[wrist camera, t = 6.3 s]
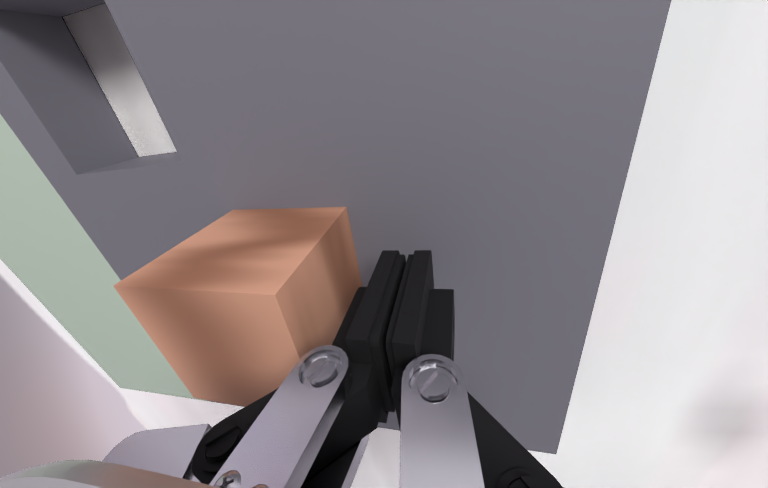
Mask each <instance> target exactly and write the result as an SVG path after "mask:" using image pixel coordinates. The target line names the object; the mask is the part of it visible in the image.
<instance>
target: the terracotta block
mask: <svg viewBox="0 0 768 488" xmlns="http://www.w3.org/2000/svg"><path fill="white" fill-rule="evenodd" d="M113 286H114V288H115V289H116V290H117V292H118V293H119V295H120V296H121V297H122V299H123V300H124V302H125V303H126V304H127V306H128V307H129V308H130V310H131V311H132V313H133V314H134V315H135V317H136V318H137V320H138V321H139V322H140V324H141V325H142V326H143V328H144V329H145V331H146V332H147V333H148V335H149V336H150V338H151V339H152V340H153V342H154V343H155V344H156V346H157V347H158V349H159V350H160V351H161V353H162V354H163V356H164V357H165V358H166V360H167V361H168V363H169V364H170V365H171V367H172V368H173V369H174V371H175V372H176V374H177V375H178V376H179V378H180V379H181V381H182V382H183V383H184V385H185V386H186V387H187V389H188V390H189V392H190V393H191V394H192V396H193V397H194V398H197V399H203V400H209V401H215V402H221V403H227V404H232V405H238V406H244V407H246V406H248V405H250V404H251V403H253V402H255V401H257V400H258V399H260V398H262V397H264V396H265V395H267V394H269V393H271V392H272V391H274V390H276V389H277V388H279V387H280V385H281V384H282V383H283V381H284V380H285V378H286V377H287V376H288V374H289V373H290V371H291V370H292V369H293V367H294V366H295V365H296V363H297V362H298V361H299V360H300V358H301V357H302V356H303V355H304V354H306V353H307V352H309V351H310V350H312V349H314V348H317V347H319V346H325V345H332V343H333V341H334V339H335V337H336V335H337V332H338V330H339V328H340V326H341V324H342V321H343V319H344V317H345V315H346V313H347V311H348V308H349V306H350V304H351V302H352V300H353V298H354V295H355V293H356V291H357V289H358V288H359V287H362V282H361V277H360V272H359V266H358V261H357V256H356V251H355V246H354V241H353V236H352V231H351V226H350V221H349V216H348V211H347V207H321V208H283V209H246V210H232V211H230V212H229V213H227V214H225V215H224V216H222V217H221V218H219V219H218V220H216V221H214V222H213V223H211V224H210V225H208V226H207V227H205V228H203V229H202V230H200V231H199V232H197V233H195V234H194V235H192V236H191V237H189V238H188V239H186V240H184V241H183V242H181V243H180V244H178V245H177V246H175V247H173V248H172V249H170V250H169V251H167V252H165V253H164V254H162V255H161V256H159V257H158V258H156V259H154V260H153V261H151V262H150V263H148V264H147V265H145V266H143V267H142V268H140V269H139V270H137V271H135V272H134V273H132V274H131V275H129V276H128V277H126V278H124V279H123V280H121V281H120V282H118V283H117V284H115V285H113Z"/></svg>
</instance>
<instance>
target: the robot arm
mask: <svg viewBox="0 0 768 488" xmlns="http://www.w3.org/2000/svg"><path fill="white" fill-rule="evenodd" d="M454 336H455V306H454V289H434V277H433V263H432V252H431V250H415V251H414V254H409V255H408V258H407V262H406V258H405V255H404V254H400V253H399V251H398V250H383V251H382V252H381V255H380V257H379V259H378V262H377V264H376V267H375V269H374V271H373V274H372V276H371V278H370V281H369V283H368V286H367V287H359V288H358V289H357V291H356V293H355V295H354V298H353V300H352V302H351V304H350V306H349V308H348V311H347V313H346V315H345V317H344V319H343V321H342V324H341V326H340V328H339V330H338V332H337V335H336V337H335V339H334V341H333V343H332V345H325V346H319V347H317V348H314V349H312V350H310V351H309V352H307V353H306V354H304V355H303V356H302V357H301V358H300V360H299V361H298V362H297V363H296V365H295V366H294V367H293V369H292V370H291V371H290V373H289V374H288V376H287V377H286V378H285V380H284V381H283V383H282V384H281V385H280V387H279V388H277V389H276V390H274V391H272V392H271V393H269V394H267V395H265V396H264V397H262V398H260V399H258V400H257V401H255V402H253V403H251V404H250V405H248V406H246V407H244V408H243V409H241V410H239V411H237V412H236V413H234V414H232V415H231V416H229V417H227V418H225V419H224V420H222V421H221V422H219V423H218V424H216V425H215V426H213V427H211V426H210V425H209V424H201V425H192V426H182V427H173V428H164V429H154V430H145V431H141V432H137V433H134V434H133V435H131V436H129V437H127V438H125V439H124V440H123V441H121V442H120V443H119V444H118V445H116V447H114V448H113V449H112V450H111V451H110V453H109V454H108V455H107V456H106V457H105V458H104V460H103V461H102V462H101V461H93V460H66V461H57V462H52V463H47V464H43V465H38V466H34V467H31V468H27V469H24V470H20V471H16V472H13V473H11V474H8V475H5V476H2V477H0V488H350V487H351V485H352V482H353V480H354V477H355V474H356V472H357V469H358V467H359V464H360V462H361V459H362V456H363V454H364V451H365V449H366V446H367V443H368V439H369V433H371V432H372V431H373V430H375V429H376V428H377V426H378V422H381V423H387V418H388V414H389V412H395V410H396V415H397V419H398V424H399V429H400V476H399V488H564V487H562V486H561V485H560V483H559V482H558V481H557V480H556V478H555V477H554V476H553V475H551V474H550V473H549V472H548V471H547V470H546V469H545V468H544V467H543V466H542V465H541V464H540V463H539V462H538V461H537V460H536V459H535V458H534V457H533V456H532V455H531V454H530V453H529V452H528V451H527V450H526V449H525V448H524V447H523V446H522V445H521V444H520V443H519V442H518V441H517V440H516V439H515V438H514V437H513V436H512V435H511V434H510V433H509V432H508V431H507V430H506V429H505V428H504V427H503V426H502V425H501V424H500V423H499V422H498V421H497V420H496V419H495V418H494V417H493V416H492V415H491V414H490V413H489V412H488V411H487V410H486V409H485V408H484V407H483V406H482V405H481V404H480V403H479V402H478V401H477V400H476V399H475V398H474V397H473V396H472V395H471V394H470V393H469V392H468V391H467V388H466V383H465V378H464V375H463V373H462V370H461V369H460V368H459V366H458V365H457V364H456V363H455V362H454Z"/></svg>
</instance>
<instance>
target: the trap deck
mask: <svg viewBox="0 0 768 488" xmlns="http://www.w3.org/2000/svg"><path fill="white" fill-rule="evenodd" d="M102 3H106V5H107V7H108V9H109V11H110V13H111V15H112V17H113V19H114V21H115V24H116V26H117V28H118V30H119V32H120V34H121V36H122V38H123V40H124V42H125V44H126V46H127V48H128V50H129V53H130V55H131V57H132V59H133V61H134V63H135V65H136V67H137V69H138V71H139V73H140V75H141V77H142V80H143V82H144V84H145V86H146V88H147V90H148V92H149V94H150V96H151V98H152V100H153V102H154V104H155V106H156V109H157V111H158V113H159V115H160V117H161V119H162V121H163V123H164V125H165V127H166V129H167V131H168V133H169V135H170V138H171V140H172V142H173V144H174V146H175V148H176V150H177V152H174V153H166V154H158V155H151V156H143V157H138V155H137V154H136V152H135V150H134V148H133V146H132V144H131V143H130V141H129V139H128V137H127V135H126V134H125V132H124V130H123V128H122V126H121V124H120V123H119V121H118V119H117V117H116V115H115V114H114V112H113V110H112V108H111V106H110V104H109V103H108V101H107V99H106V97H105V95H104V94H103V92H102V90H101V88H100V86H99V84H98V83H97V81H96V79H95V77H94V75H93V74H92V72H91V70H90V68H89V66H88V64H87V63H86V61H85V59H84V57H83V55H82V54H81V52H80V50H79V48H78V46H77V44H76V43H75V41H74V39H73V37H72V35H71V34H70V32H69V30H68V28H67V26H66V24H65V23H64V21H63V19H62V17H63V16H66V15H69V14H72V13H75V12H78V11H81V10H84V9H87V8H90V7H93V6H96V5H99V4H102ZM670 3H671V0H0V259H1V260H2V261H3V262H4V263H5V264H6V265H7V266H8V268H9V269H10V270H11V271H12V272H13V273H14V274H15V275H16V276H17V277H18V278H19V279H20V280H21V282H22V283H23V284H24V285H25V286H26V287H27V288H28V289H29V290H30V291H31V292H32V293H33V294H34V296H35V297H36V298H37V299H38V300H39V301H40V302H41V303H42V304H43V305H44V306H45V307H46V308H47V310H48V311H49V312H50V313H51V314H52V315H53V316H54V317H55V318H56V319H57V320H58V321H59V322H60V324H61V325H62V326H63V327H64V328H65V329H66V330H67V331H68V332H69V333H70V334H71V335H72V336H73V338H74V339H75V340H76V341H77V342H78V343H79V344H80V345H81V346H82V347H83V348H84V349H85V350H86V352H87V353H88V354H89V355H90V356H91V357H92V358H93V359H94V360H95V361H96V362H97V363H98V364H99V366H100V367H101V368H102V369H103V370H104V371H105V372H106V373H107V374H108V375H109V376H110V377H111V378H112V380H113V381H114V382H115V383H116V384H117V385H118V386H119V387H120V388H126V389H132V390H139V391H145V392H152V393H159V394H165V395H172V396H178V397H185V398H191V399H197V398H194V397H193V396H192V394H191V393H190V392H189V390H188V389H187V387H186V386H185V385H184V383H183V382H182V381H181V379H180V378H179V376H178V375H177V374H176V372H175V371H174V369H173V368H172V367H171V365H170V364H169V363H168V361H167V360H166V358H165V357H164V356H163V354H162V353H161V351H160V350H159V349H158V347H157V346H156V344H155V343H154V342H153V340H152V339H151V338H150V336H149V335H148V333H147V332H146V331H145V329H144V328H143V326H142V325H141V324H140V322H139V321H138V320H137V318H136V317H135V315H134V314H133V313H132V311H131V310H130V308H129V307H128V306H127V304H126V303H125V302H124V300H123V299H122V297H121V296H120V295H119V293H118V292H117V290H116V289H115V288H114V286H113V285H115V284H117V283H118V282H120V281H121V280H123V279H124V278H126V277H128V276H129V275H131V274H132V273H134V272H135V271H137V270H139V269H140V268H142V267H143V266H145V265H147V264H148V263H150V262H151V261H153V260H154V259H156V258H158V257H159V256H161V255H162V254H164V253H165V252H167V251H169V250H170V249H172V248H173V247H175V246H177V245H178V244H180V243H181V242H183V241H184V240H186V239H188V238H189V237H191V236H192V235H194V234H195V233H197V232H199V231H200V230H202V229H203V228H205V227H207V226H208V225H210V224H211V223H213V222H214V221H216V220H218V219H219V218H221V217H222V216H224V215H225V214H227V213H229V212H230V211H232V210H246V209H283V208H321V207H347V211H348V216H349V221H350V226H351V231H352V236H353V241H354V246H355V251H356V256H357V261H358V266H359V272H360V277H361V282H362V287H367V286H368V283H369V281H370V278H371V276H372V274H373V271H374V269H375V267H376V264H377V262H378V259H379V257H380V255H381V252H382V251H383V250H398V251H399V253H400V254H404V255H405V258H406V262H407V258H408V255H409V254H414V251H415V250H431V252H432V263H433V277H434V289H454V306H455V336H454V362H455V363H456V364H457V365H458V366H459V368H460V369H461V370H462V373H463V375H464V378H465V383H466V388H467V391H468V392H469V393H470V394H471V395H472V396H473V397H474V398H475V399H476V400H477V401H478V402H479V403H480V404H481V405H482V406H483V407H484V408H485V409H486V410H487V411H488V412H489V413H490V414H491V415H492V416H493V417H494V418H495V419H496V420H497V421H498V422H499V423H500V424H501V425H502V426H503V427H504V428H505V429H506V430H507V431H508V432H509V433H510V434H511V435H512V436H513V437H514V438H515V439H516V440H517V441H518V442H519V443H520V444H521V445H522V446H523V447H524V448H525V449H526V450H531V451H538V452H544V453H551V454H556V453H557V449H558V445H559V441H560V437H561V433H562V429H563V425H564V421H565V417H566V413H567V410H568V406H569V402H570V398H571V394H572V390H573V386H574V382H575V378H576V374H577V370H578V366H579V362H580V358H581V354H582V350H583V346H584V342H585V338H586V335H587V331H588V327H589V323H590V319H591V315H592V311H593V307H594V303H595V299H596V295H597V291H598V287H599V283H600V279H601V275H602V271H603V267H604V264H605V260H606V256H607V252H608V248H609V244H610V240H611V236H612V232H613V228H614V224H615V220H616V216H617V212H618V208H619V204H620V200H621V196H622V192H623V189H624V185H625V181H626V177H627V173H628V169H629V165H630V161H631V157H632V153H633V149H634V145H635V141H636V137H637V133H638V129H639V125H640V121H641V117H642V114H643V110H644V106H645V102H646V98H647V94H648V90H649V86H650V82H651V78H652V74H653V70H654V66H655V62H656V58H657V54H658V50H659V46H660V43H661V39H662V35H663V31H664V27H665V23H666V19H667V15H668V11H669V7H670ZM198 400H203V399H198ZM204 401H209V400H204ZM211 402H215V401H211ZM217 403H221V402H217ZM224 404H227V403H224ZM230 405H232V404H230ZM237 406H238V405H237ZM377 427H381V428H387V429H394V430H400V429H399V424H398V419H397V415H396V410H395V412H389V414H388V418H387V423H381V422H378V426H377Z"/></svg>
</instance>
